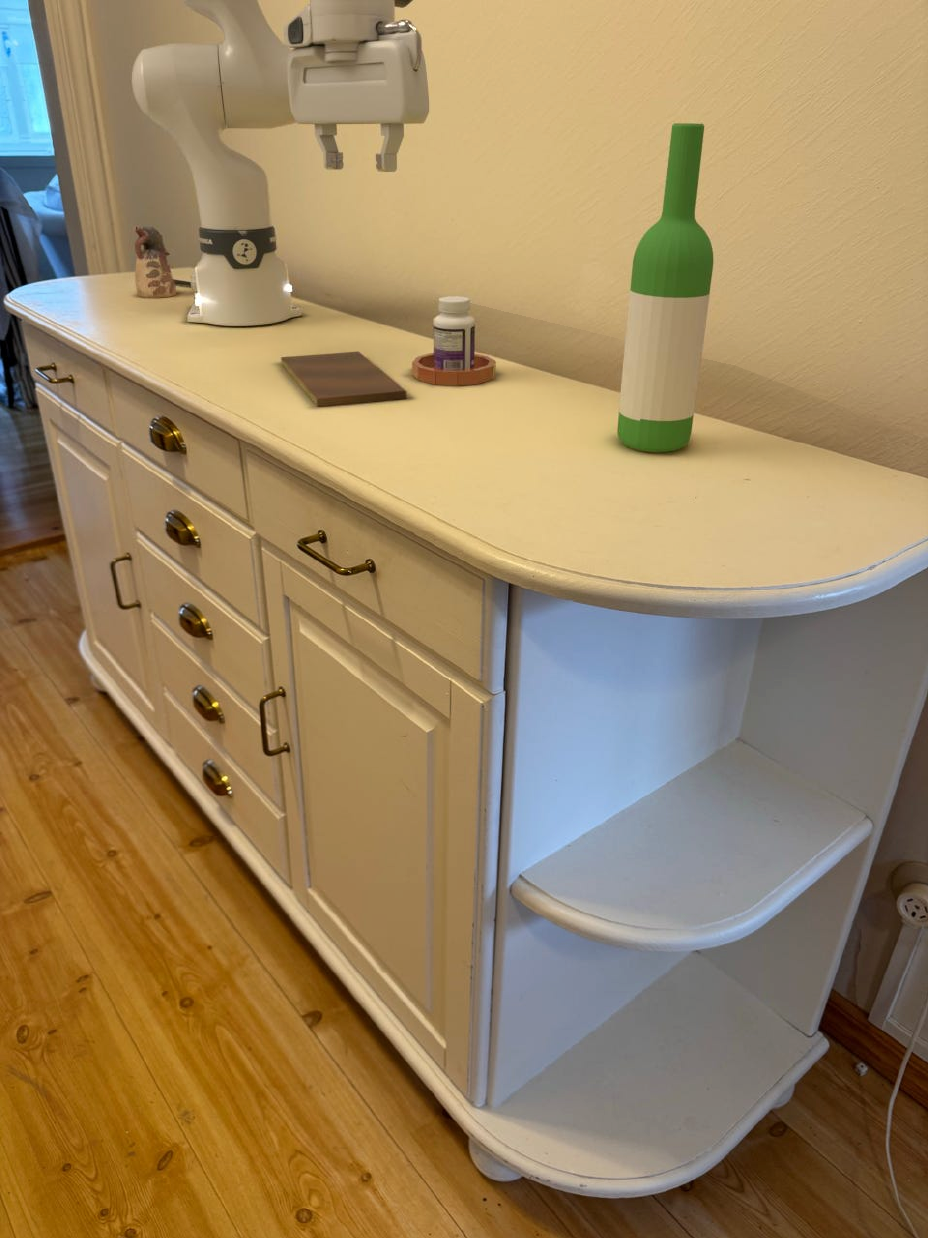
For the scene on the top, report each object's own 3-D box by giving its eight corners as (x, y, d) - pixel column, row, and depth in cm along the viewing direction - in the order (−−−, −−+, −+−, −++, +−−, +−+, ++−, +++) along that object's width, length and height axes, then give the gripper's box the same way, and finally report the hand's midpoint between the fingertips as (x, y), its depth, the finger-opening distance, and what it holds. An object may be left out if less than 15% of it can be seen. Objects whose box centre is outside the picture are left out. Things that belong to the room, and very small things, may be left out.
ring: (402, 368, 126) (402, 355, 125) (476, 362, 129) (477, 349, 128) (428, 388, 117) (428, 374, 116) (507, 381, 120) (507, 367, 119)
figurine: (184, 294, 173) (175, 225, 168) (150, 299, 169) (139, 228, 163) (164, 289, 178) (154, 222, 172) (130, 294, 173) (119, 225, 167)
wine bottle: (684, 459, 94) (727, 124, 79) (608, 449, 96) (637, 122, 82) (694, 437, 100) (736, 123, 86) (623, 429, 103) (653, 122, 88)
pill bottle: (454, 367, 126) (454, 293, 122) (482, 375, 123) (484, 298, 118) (425, 374, 123) (424, 298, 118) (453, 382, 120) (453, 304, 115)
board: (281, 364, 127) (280, 356, 127) (358, 358, 131) (358, 351, 130) (317, 406, 109) (316, 398, 109) (406, 398, 113) (406, 390, 112)
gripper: (442, 20, 93) (443, 172, 100) (320, 33, 106) (327, 167, 112) (395, 14, 89) (399, 173, 96) (274, 29, 102) (284, 168, 109)
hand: (359, 170), depth 104 cm, fingers open, 8 cm apart
